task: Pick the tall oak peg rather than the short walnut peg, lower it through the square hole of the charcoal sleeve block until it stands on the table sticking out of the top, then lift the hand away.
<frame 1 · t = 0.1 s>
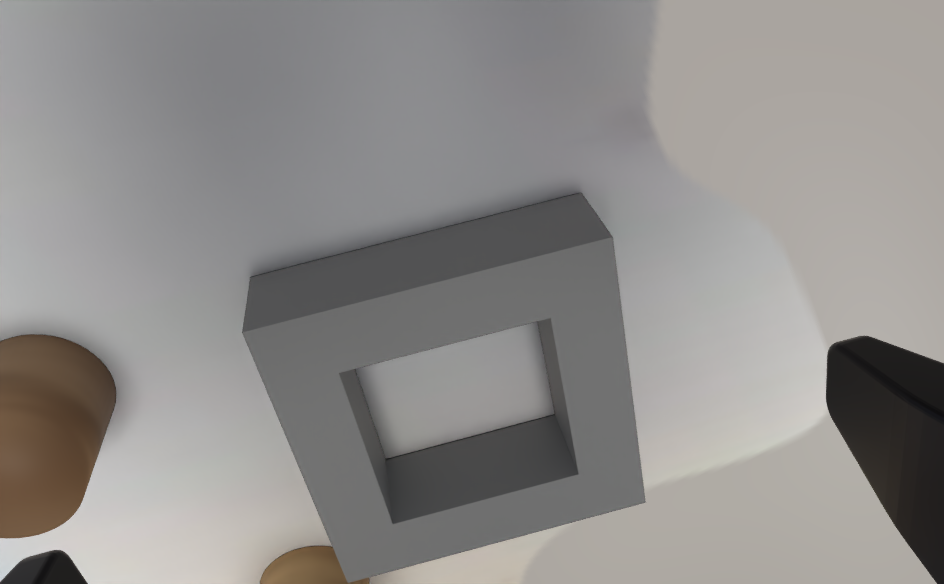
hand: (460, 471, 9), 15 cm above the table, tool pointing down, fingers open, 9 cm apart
short peg: (45, 390, 25), on the table
sleeve block: (452, 368, 27), on the table
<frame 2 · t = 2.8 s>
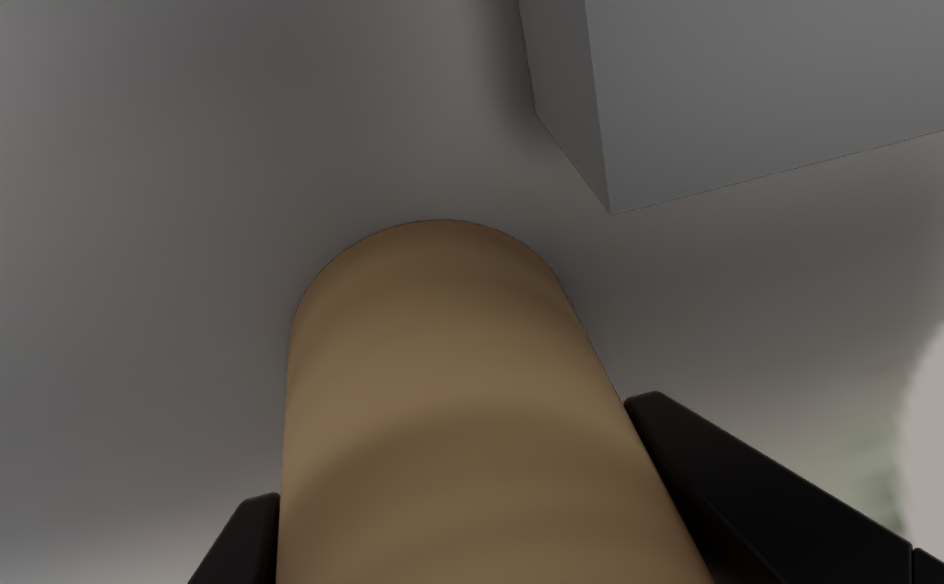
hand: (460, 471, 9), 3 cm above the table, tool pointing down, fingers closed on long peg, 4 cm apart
long peg: (433, 349, 12), on the table, touching gripper
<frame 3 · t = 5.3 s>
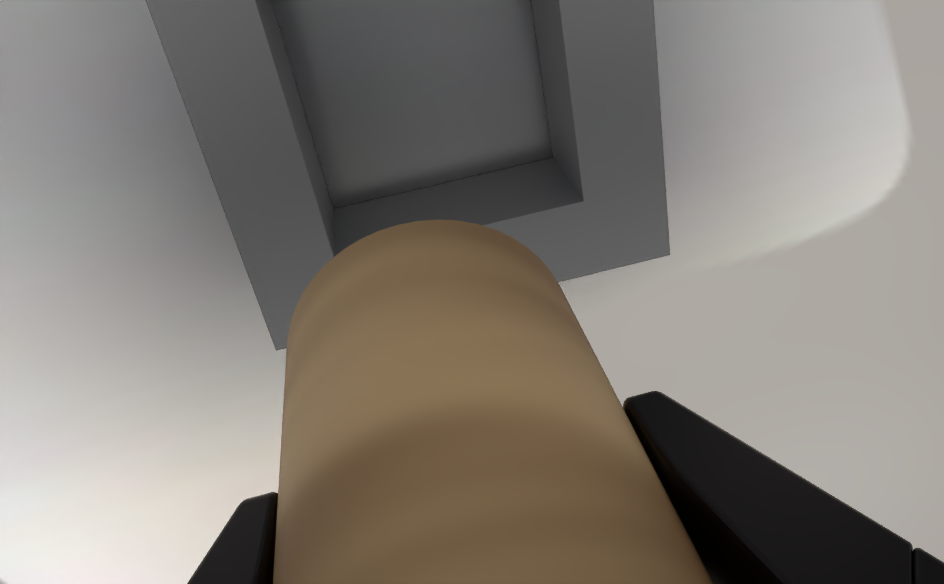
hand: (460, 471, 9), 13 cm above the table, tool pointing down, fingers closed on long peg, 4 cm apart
long peg: (432, 349, 12), point 11 cm above the table, touching gripper
sleeve block: (419, 72, 20), on the table
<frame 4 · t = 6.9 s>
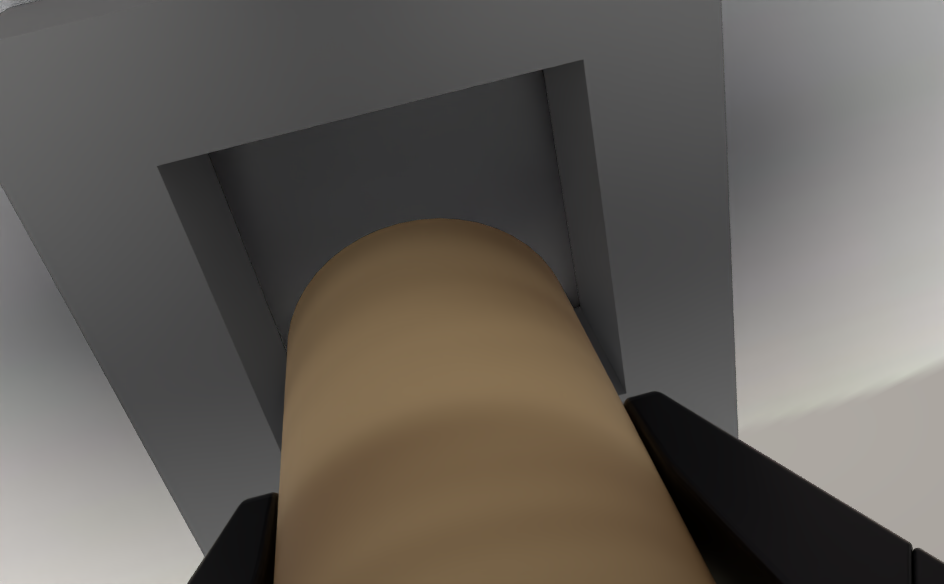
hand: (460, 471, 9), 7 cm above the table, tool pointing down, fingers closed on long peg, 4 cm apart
long peg: (432, 347, 12), point 4 cm above the table, touching gripper
sleeve block: (404, 214, 15), on the table
when the fingers open (4 cm above the table, at t = 8.0 s): long peg drops 2 cm, resting in sleeve block.
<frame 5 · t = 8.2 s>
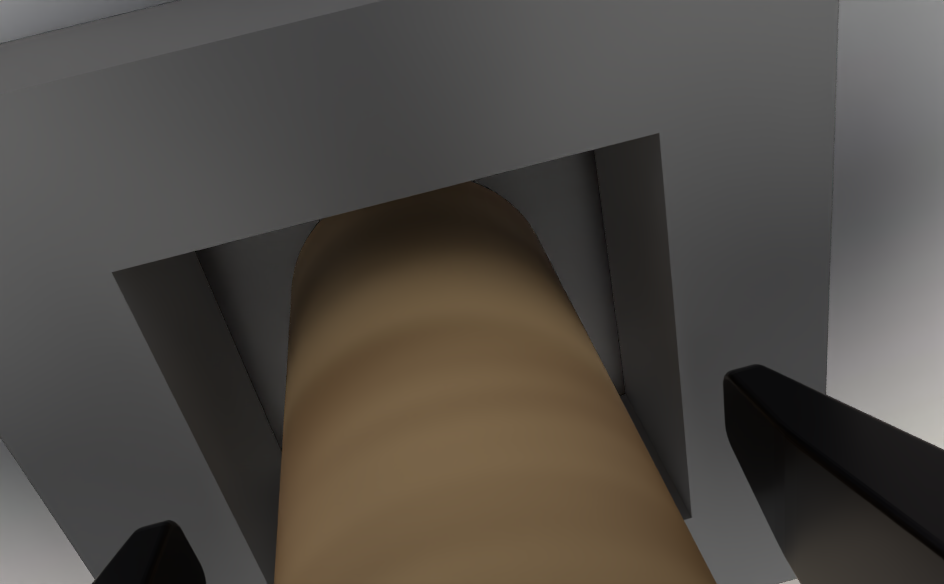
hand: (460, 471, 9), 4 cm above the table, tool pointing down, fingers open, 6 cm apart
long peg: (422, 294, 13), resting in sleeve block
sleeve block: (422, 295, 13), on the table
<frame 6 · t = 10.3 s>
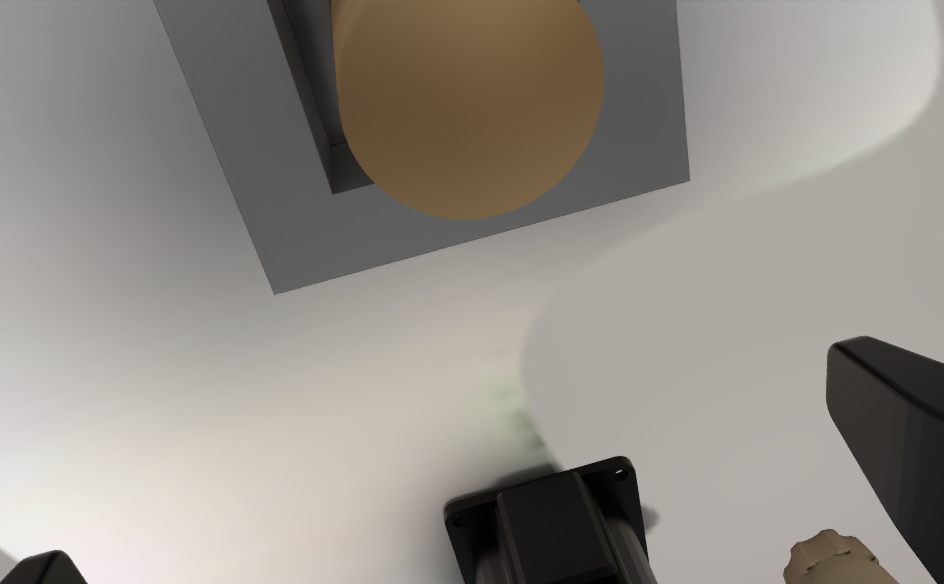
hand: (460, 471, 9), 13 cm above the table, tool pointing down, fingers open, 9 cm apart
handle: (815, 550, 32), on the table
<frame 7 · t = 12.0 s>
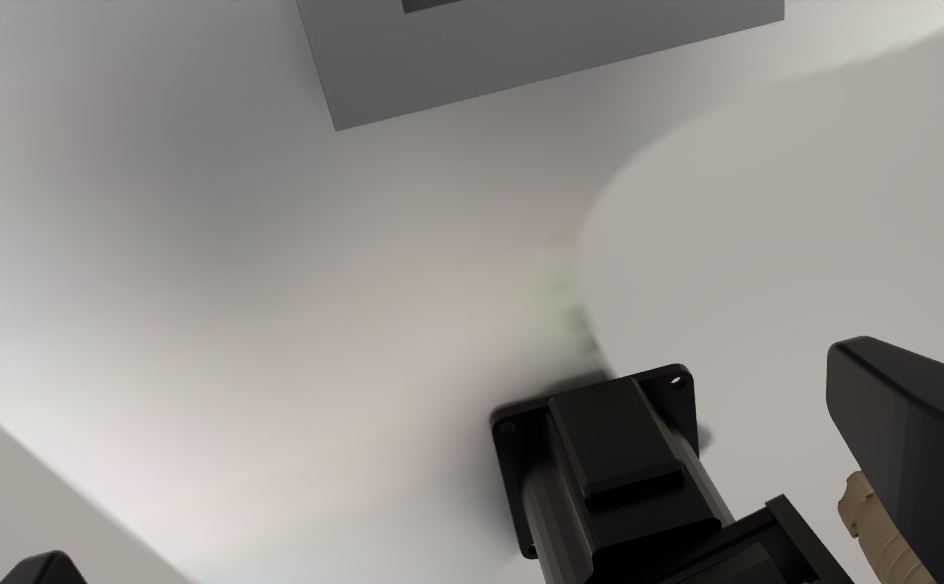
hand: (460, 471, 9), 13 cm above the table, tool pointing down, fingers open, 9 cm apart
handle: (870, 483, 31), on the table
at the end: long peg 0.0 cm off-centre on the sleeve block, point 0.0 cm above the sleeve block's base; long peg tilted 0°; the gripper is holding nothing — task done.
